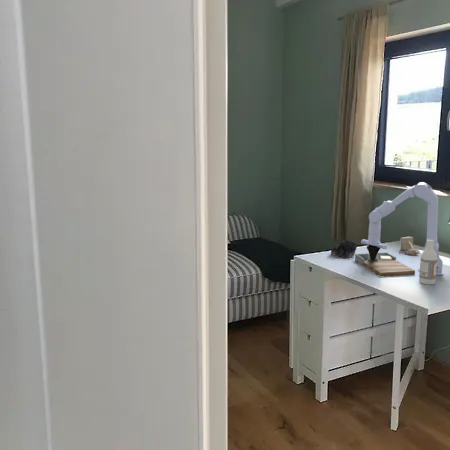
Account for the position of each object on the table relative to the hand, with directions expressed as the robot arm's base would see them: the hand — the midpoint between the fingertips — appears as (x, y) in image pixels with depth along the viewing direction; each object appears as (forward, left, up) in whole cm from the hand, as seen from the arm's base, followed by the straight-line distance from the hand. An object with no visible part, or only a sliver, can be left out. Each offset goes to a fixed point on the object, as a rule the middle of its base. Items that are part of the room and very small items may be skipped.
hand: (372, 259), depth 261 cm
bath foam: (-30, -12, -3) cm, 32 cm away
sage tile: (+3, -2, -1) cm, 4 cm away
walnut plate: (-9, -4, -3) cm, 10 cm away
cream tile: (+3, -9, -2) cm, 10 cm away
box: (+5, -4, -3) cm, 7 cm away
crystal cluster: (+21, +7, -3) cm, 22 cm away
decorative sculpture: (+20, -31, -3) cm, 37 cm away
